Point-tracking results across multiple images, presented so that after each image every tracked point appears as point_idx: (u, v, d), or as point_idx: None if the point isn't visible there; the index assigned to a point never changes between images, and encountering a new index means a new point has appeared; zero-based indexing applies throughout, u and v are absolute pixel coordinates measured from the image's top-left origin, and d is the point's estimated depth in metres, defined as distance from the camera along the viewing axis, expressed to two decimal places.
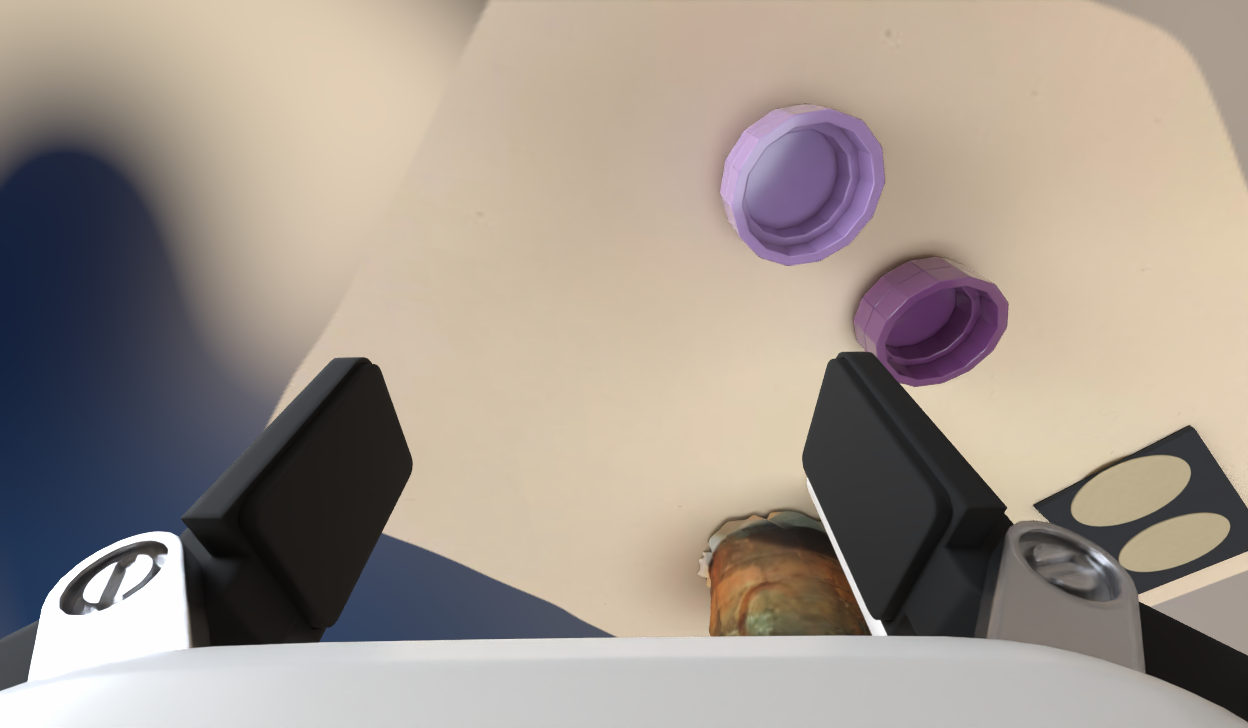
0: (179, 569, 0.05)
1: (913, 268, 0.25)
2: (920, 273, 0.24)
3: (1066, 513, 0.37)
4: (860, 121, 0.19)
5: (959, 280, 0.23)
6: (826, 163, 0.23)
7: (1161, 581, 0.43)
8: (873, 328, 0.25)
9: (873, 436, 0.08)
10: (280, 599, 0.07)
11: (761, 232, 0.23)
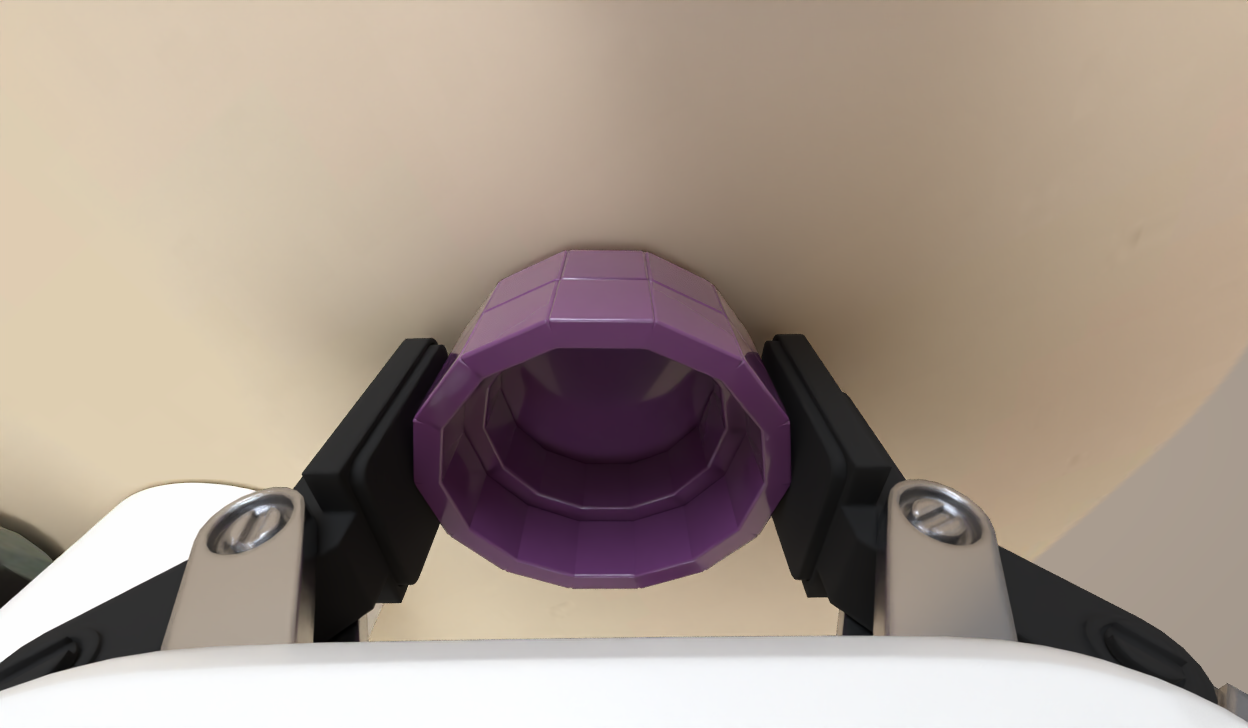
0: (306, 517, 0.06)
1: (710, 296, 0.08)
2: (716, 313, 0.08)
3: None
4: None
5: (767, 405, 0.07)
6: None
7: None
8: (503, 318, 0.07)
9: (793, 409, 0.08)
10: (377, 554, 0.07)
11: None
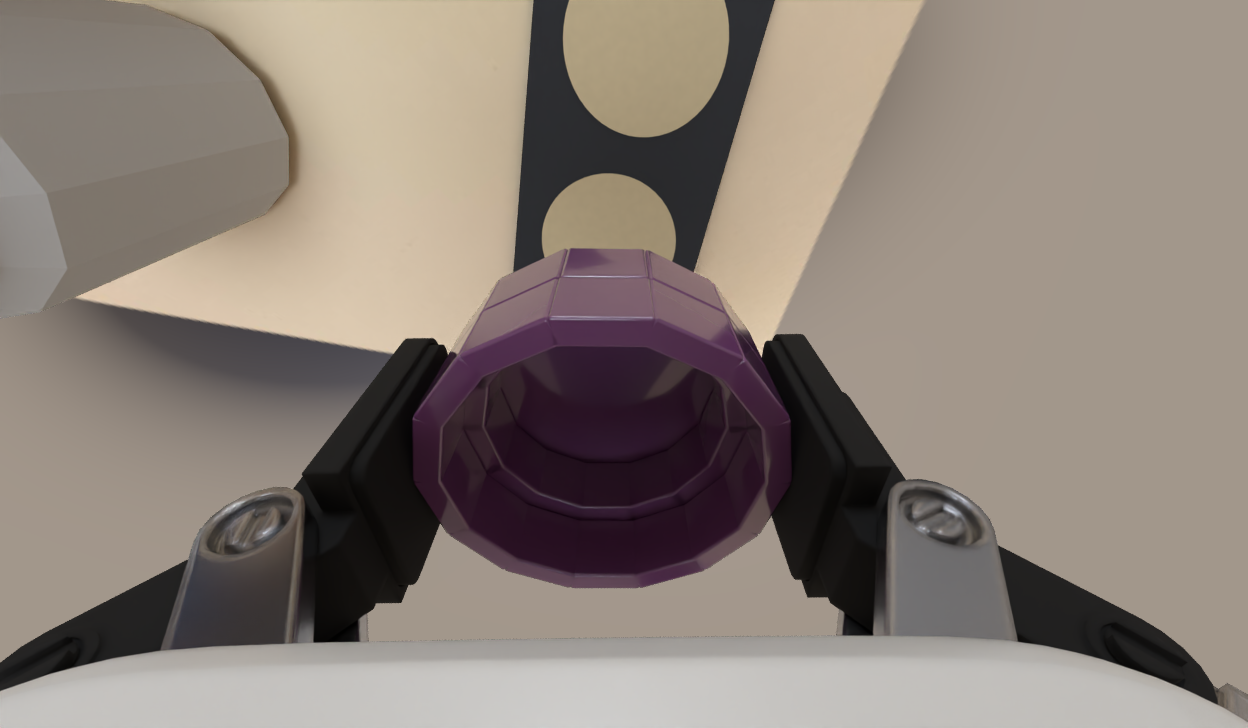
0: (306, 517, 0.06)
1: (710, 294, 0.08)
2: (717, 311, 0.08)
3: None
4: None
5: (767, 404, 0.07)
6: None
7: None
8: (502, 316, 0.07)
9: (793, 409, 0.08)
10: (376, 553, 0.07)
11: None
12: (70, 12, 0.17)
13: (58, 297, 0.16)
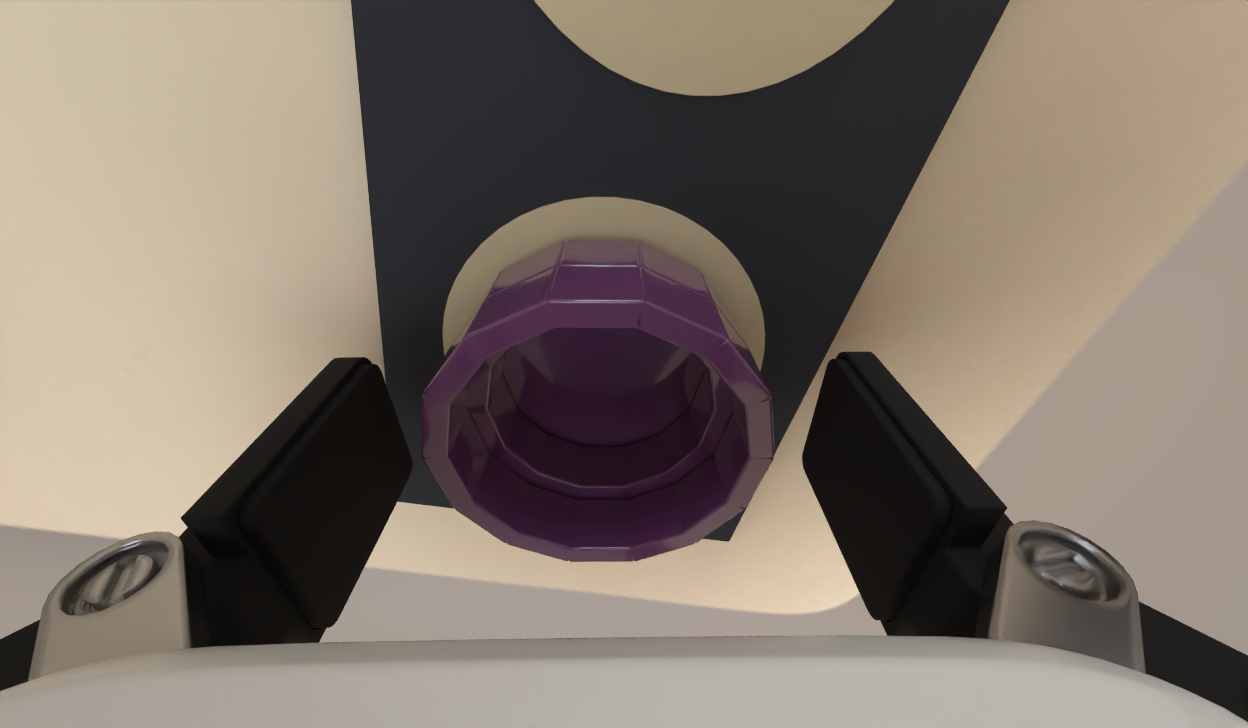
0: (179, 569, 0.05)
1: (698, 283, 0.09)
2: (703, 298, 0.09)
3: None
4: None
5: (750, 382, 0.08)
6: None
7: None
8: (505, 301, 0.08)
9: (873, 436, 0.08)
10: (279, 599, 0.07)
11: None
12: None
13: None
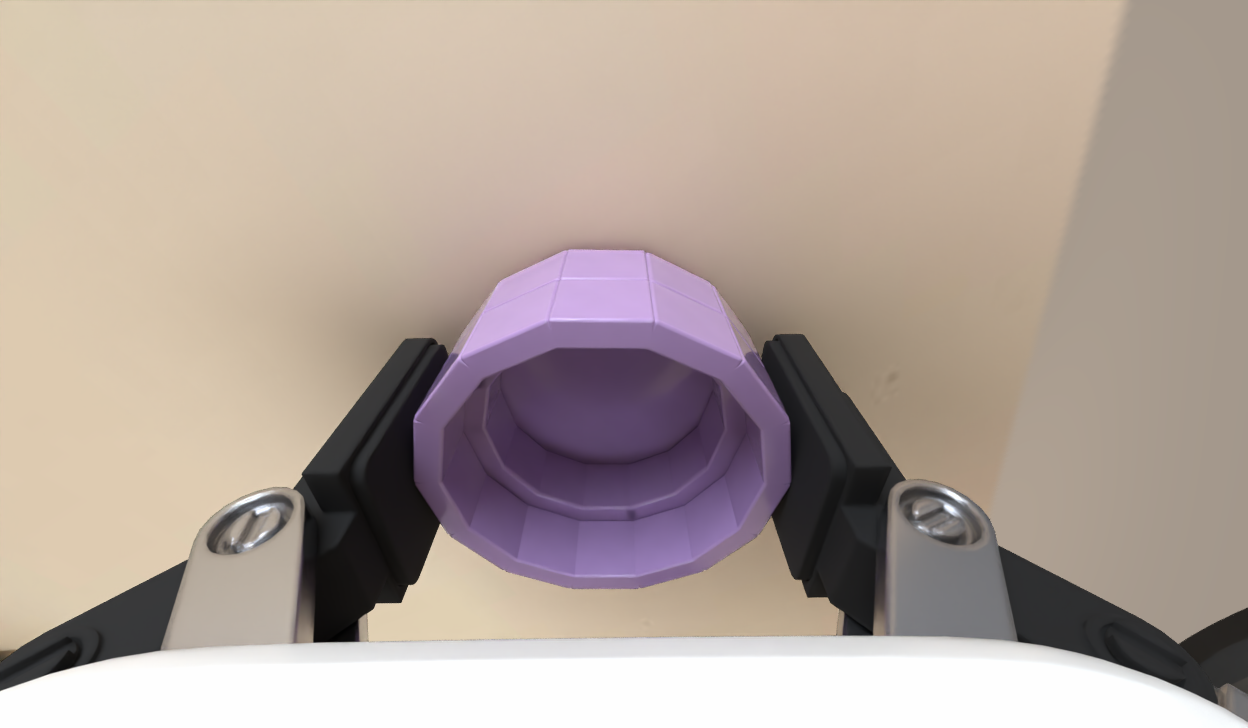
0: (306, 518, 0.06)
1: None
2: None
3: None
4: (788, 482, 0.08)
5: None
6: (670, 426, 0.11)
7: None
8: None
9: (793, 409, 0.08)
10: (376, 554, 0.07)
11: (479, 425, 0.09)
12: None
13: None
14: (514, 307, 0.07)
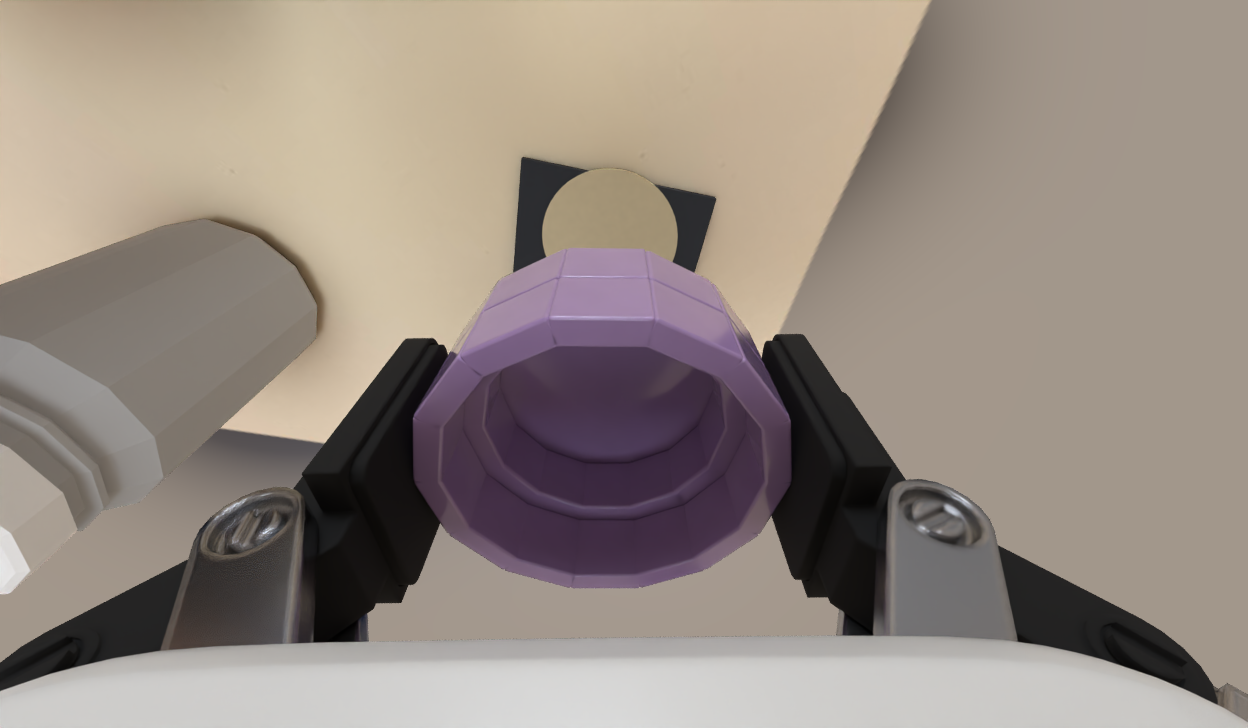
0: (306, 518, 0.06)
1: None
2: None
3: (541, 206, 0.26)
4: (788, 481, 0.08)
5: None
6: (670, 425, 0.11)
7: None
8: None
9: (793, 409, 0.08)
10: (376, 554, 0.07)
11: (479, 424, 0.09)
12: (158, 266, 0.22)
13: (152, 489, 0.21)
14: (514, 305, 0.07)
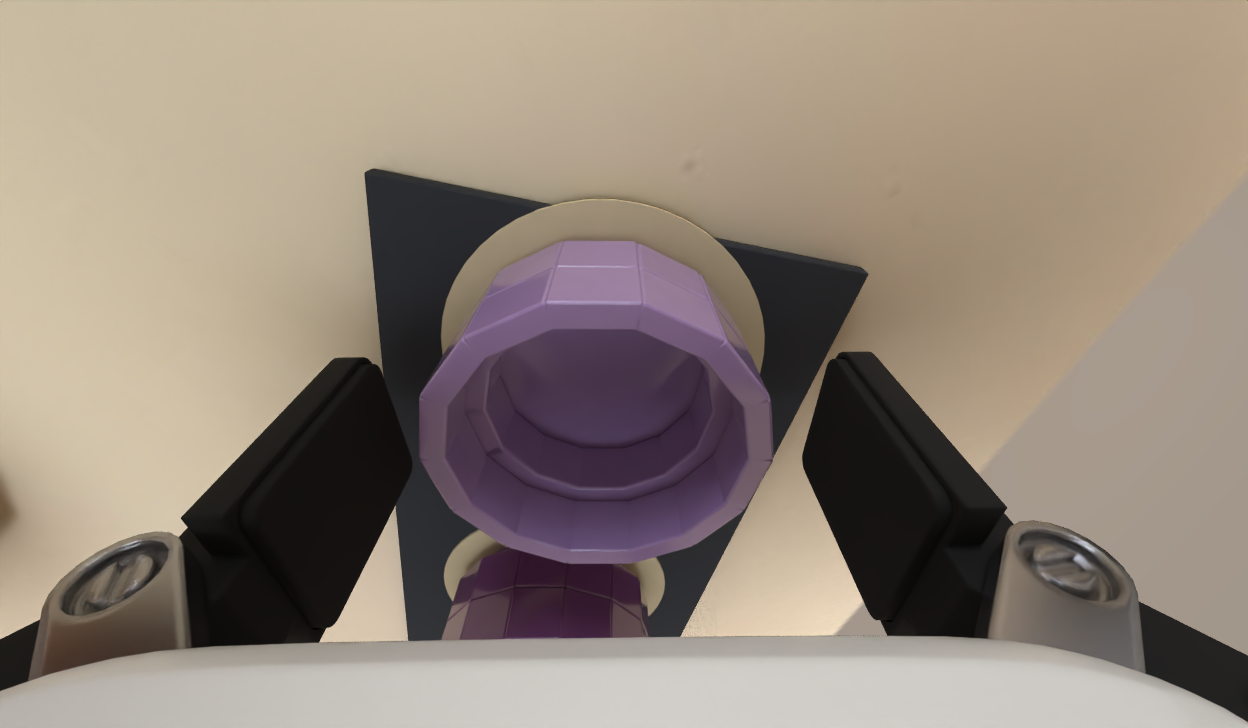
0: (179, 569, 0.05)
1: (605, 579, 0.14)
2: (605, 601, 0.14)
3: (434, 290, 0.11)
4: (770, 457, 0.09)
5: None
6: (662, 410, 0.12)
7: None
8: (482, 618, 0.13)
9: (873, 436, 0.08)
10: (279, 598, 0.07)
11: (480, 407, 0.10)
12: None
13: None
14: (513, 292, 0.08)
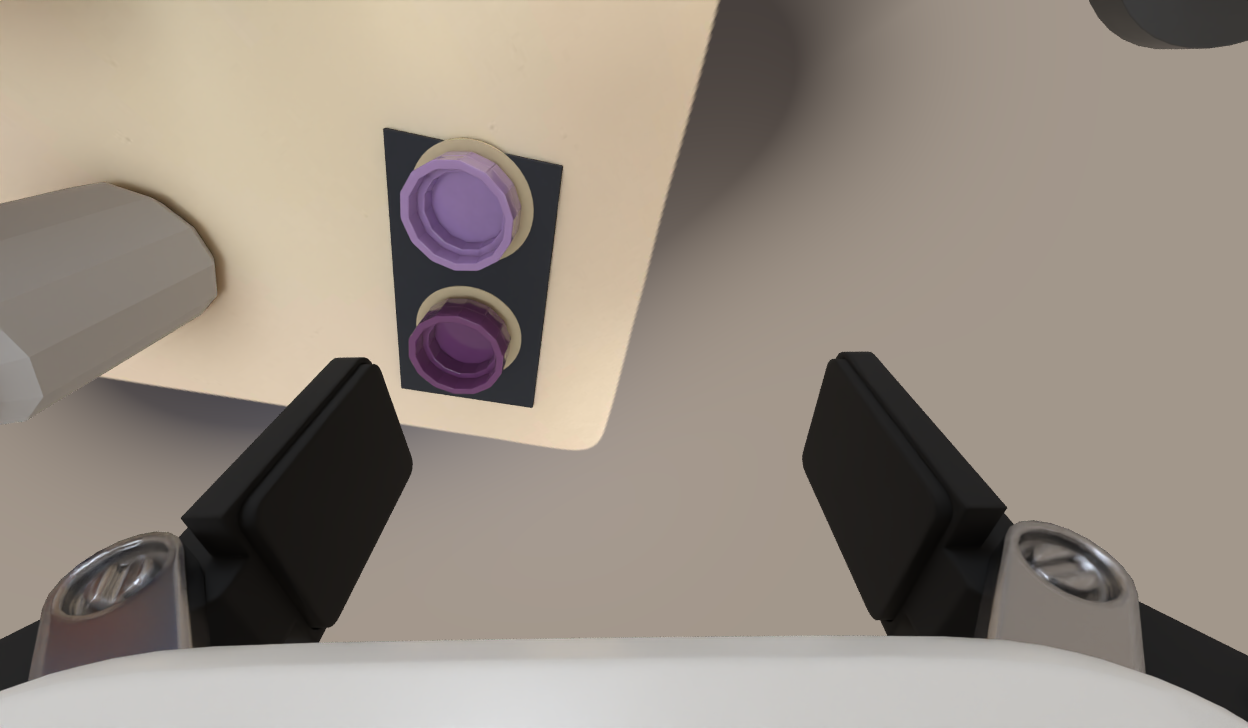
0: (179, 569, 0.05)
1: (484, 310, 0.33)
2: (481, 314, 0.33)
3: (407, 173, 0.30)
4: (511, 218, 0.28)
5: (489, 336, 0.32)
6: (495, 224, 0.31)
7: None
8: (428, 316, 0.32)
9: (873, 436, 0.08)
10: (279, 598, 0.07)
11: (422, 210, 0.29)
12: (47, 217, 0.25)
13: (38, 410, 0.24)
14: None
